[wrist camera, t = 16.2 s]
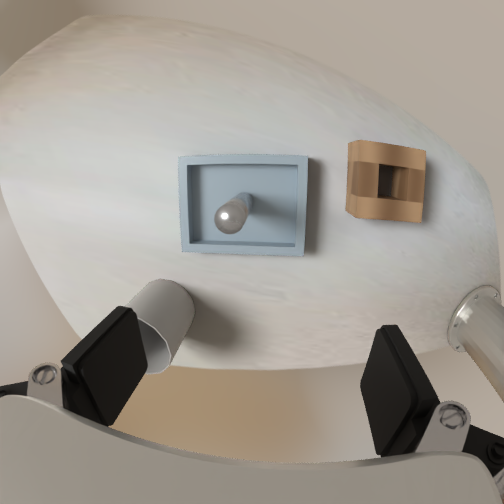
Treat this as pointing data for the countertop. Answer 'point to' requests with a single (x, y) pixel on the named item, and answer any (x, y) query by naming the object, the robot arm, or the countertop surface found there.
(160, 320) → the cup
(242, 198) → the pin
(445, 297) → the countertop surface
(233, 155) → the tray
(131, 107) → the countertop surface
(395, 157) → the bore block
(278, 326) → the countertop surface
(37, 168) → the countertop surface
